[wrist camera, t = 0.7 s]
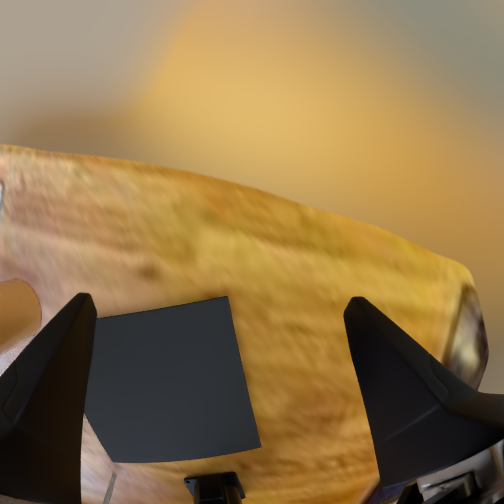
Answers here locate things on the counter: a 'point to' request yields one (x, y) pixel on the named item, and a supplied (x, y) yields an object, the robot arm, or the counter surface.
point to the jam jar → (17, 313)
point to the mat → (169, 385)
